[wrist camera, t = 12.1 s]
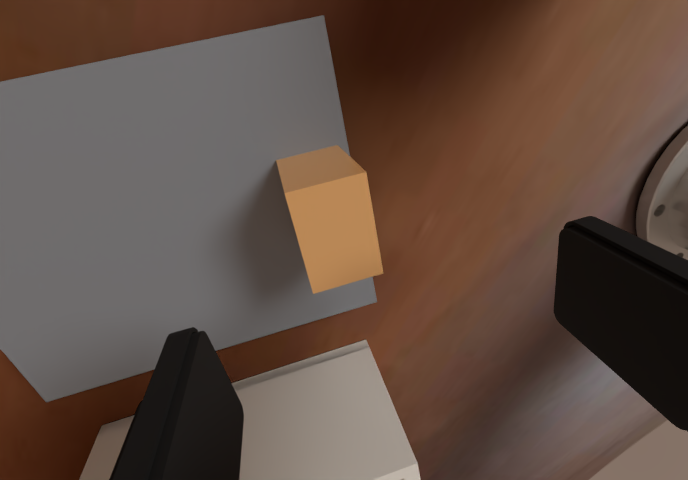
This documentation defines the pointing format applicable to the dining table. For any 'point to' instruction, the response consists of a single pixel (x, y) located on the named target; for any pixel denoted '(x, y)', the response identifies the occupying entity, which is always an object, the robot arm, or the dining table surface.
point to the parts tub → (305, 424)
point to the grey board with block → (177, 204)
